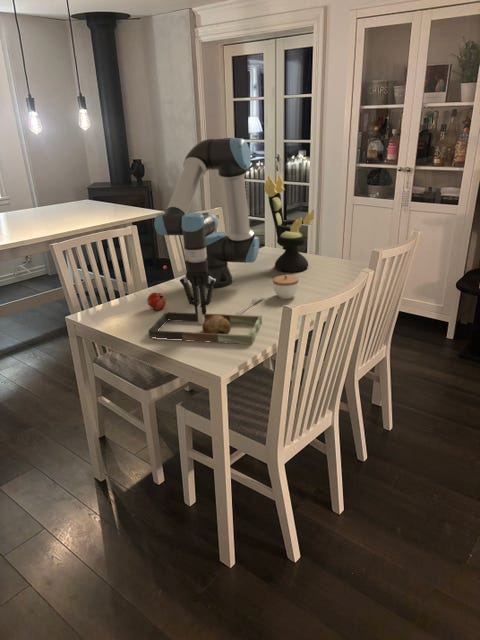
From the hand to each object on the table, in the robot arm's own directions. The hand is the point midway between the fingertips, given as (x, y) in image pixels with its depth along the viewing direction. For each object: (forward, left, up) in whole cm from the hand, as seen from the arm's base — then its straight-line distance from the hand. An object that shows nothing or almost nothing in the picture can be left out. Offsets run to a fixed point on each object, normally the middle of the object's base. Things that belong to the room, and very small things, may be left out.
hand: (201, 322), depth 175 cm
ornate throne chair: (-78, +20, -4) cm, 81 cm away
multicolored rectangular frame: (0, +1, -4) cm, 4 cm away
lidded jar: (-38, +25, -4) cm, 46 cm away
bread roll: (0, +5, -4) cm, 6 cm away
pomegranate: (-19, -26, -4) cm, 32 cm away
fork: (-25, +13, -4) cm, 29 cm away
